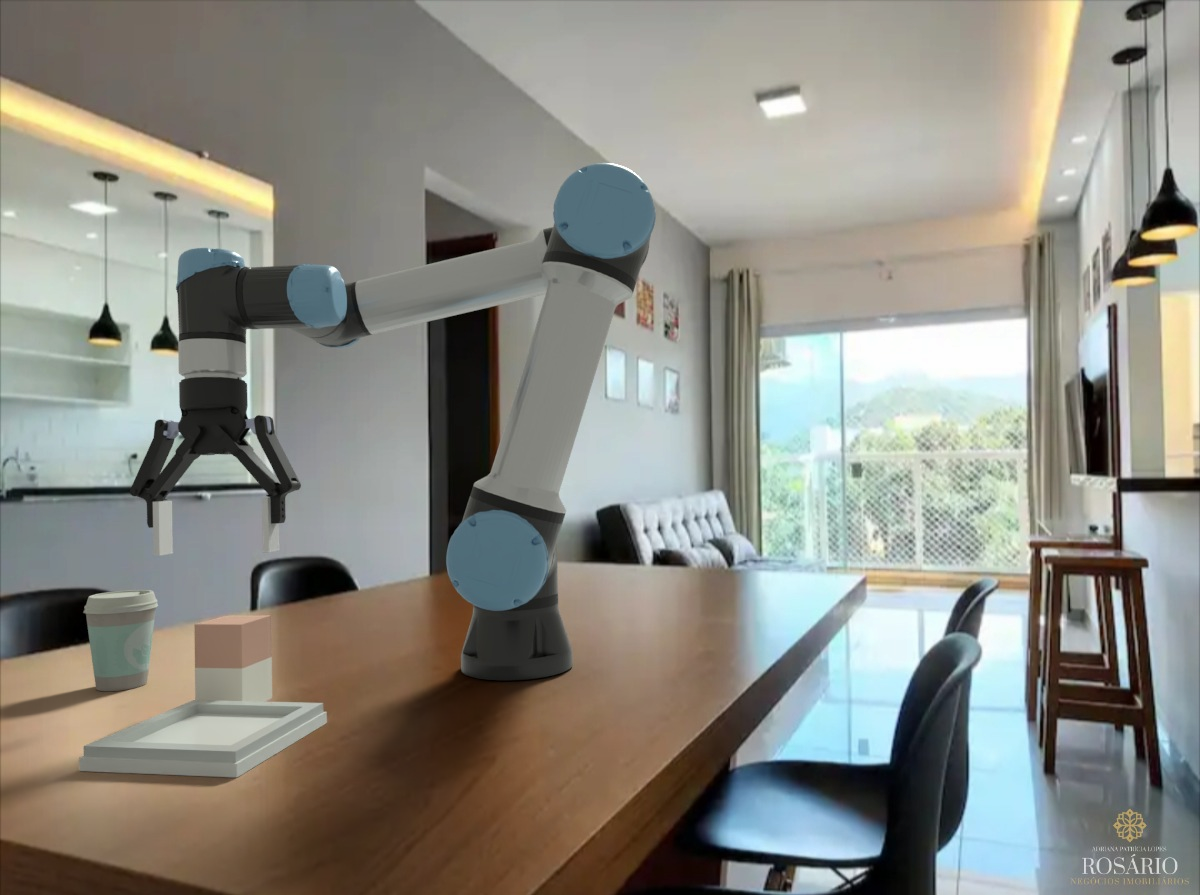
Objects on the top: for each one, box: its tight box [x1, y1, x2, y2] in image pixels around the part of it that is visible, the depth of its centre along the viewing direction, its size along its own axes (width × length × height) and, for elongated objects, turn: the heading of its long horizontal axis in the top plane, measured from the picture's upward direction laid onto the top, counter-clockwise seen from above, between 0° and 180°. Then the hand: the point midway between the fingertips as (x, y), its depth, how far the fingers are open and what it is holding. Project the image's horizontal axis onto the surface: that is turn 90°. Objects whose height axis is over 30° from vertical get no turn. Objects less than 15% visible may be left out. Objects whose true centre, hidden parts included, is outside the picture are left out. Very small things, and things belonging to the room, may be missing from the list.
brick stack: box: [193, 614, 273, 702], centre depth 97 cm, size 6×6×10 cm
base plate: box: [78, 699, 328, 778], centre depth 82 cm, size 16×16×2 cm
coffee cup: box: [82, 589, 159, 692], centre depth 108 cm, size 8×8×12 cm
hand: (217, 553), depth 99 cm, fingers open, 13 cm apart
